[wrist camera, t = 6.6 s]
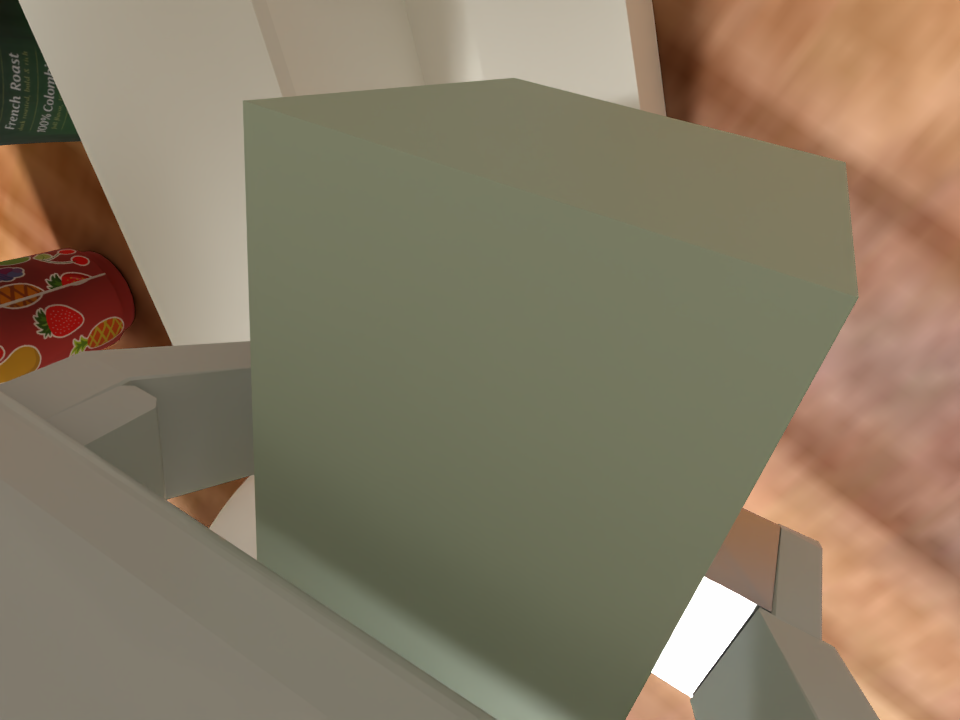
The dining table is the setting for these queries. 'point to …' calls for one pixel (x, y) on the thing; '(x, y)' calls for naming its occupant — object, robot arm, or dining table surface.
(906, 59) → the dining table surface
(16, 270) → the smoothie
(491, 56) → the cream armchair block
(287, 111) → the door panel
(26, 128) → the coffee jar
